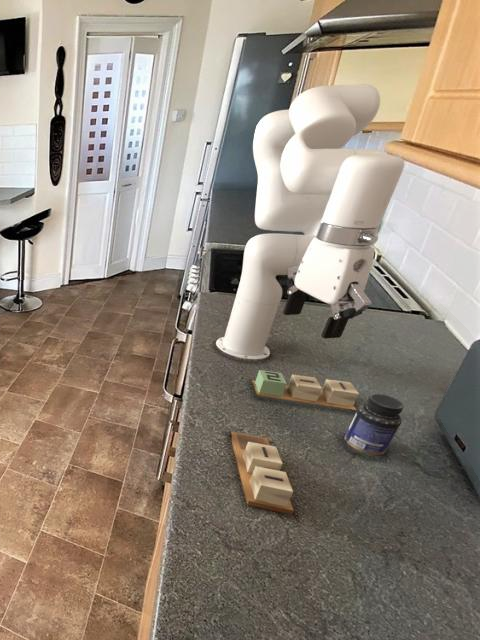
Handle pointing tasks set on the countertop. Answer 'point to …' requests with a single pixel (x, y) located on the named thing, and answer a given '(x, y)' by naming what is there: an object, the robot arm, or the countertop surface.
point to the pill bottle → (375, 424)
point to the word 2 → (318, 392)
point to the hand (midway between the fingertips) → (309, 325)
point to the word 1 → (262, 473)
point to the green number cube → (270, 383)
